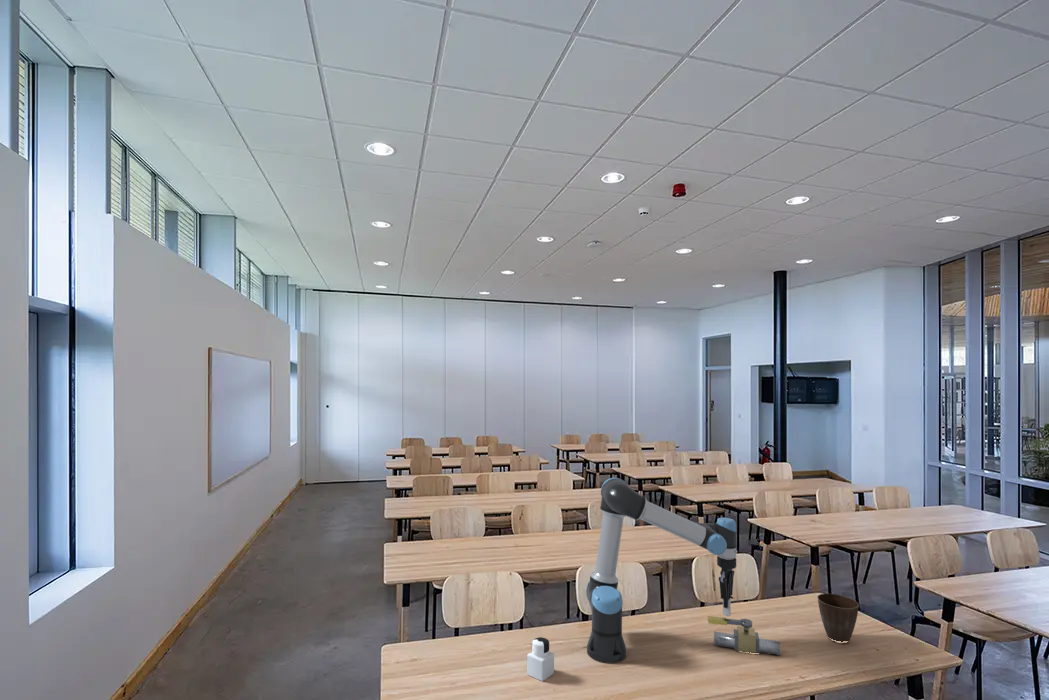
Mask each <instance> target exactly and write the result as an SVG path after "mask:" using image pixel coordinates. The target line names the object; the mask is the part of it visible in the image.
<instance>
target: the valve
mask: <svg viewBox="0 0 1049 700" xmlns="http://www.w3.org/2000/svg"><path fill="white" fill-rule="evenodd" d="M713 639H714V640H713V642H714V646H718V647H723V648H729V647H730V648H731V649H735V650H738V651H742V652H749V653H750V652H751V653H759V654H760V653H761V652H763V653H762V654H767V653H770V654H769V655H773V654H777V655H776V656H781V643H780V641H779V640H774V639H768V638H761V637H759V632H756V631H755V628H752V627H751V628H746V627H743V626H741V625H736V629H735V628H733V633H727V632H723V631H716V630H715V631H714V632H713ZM735 650H734V651H735Z"/></svg>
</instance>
